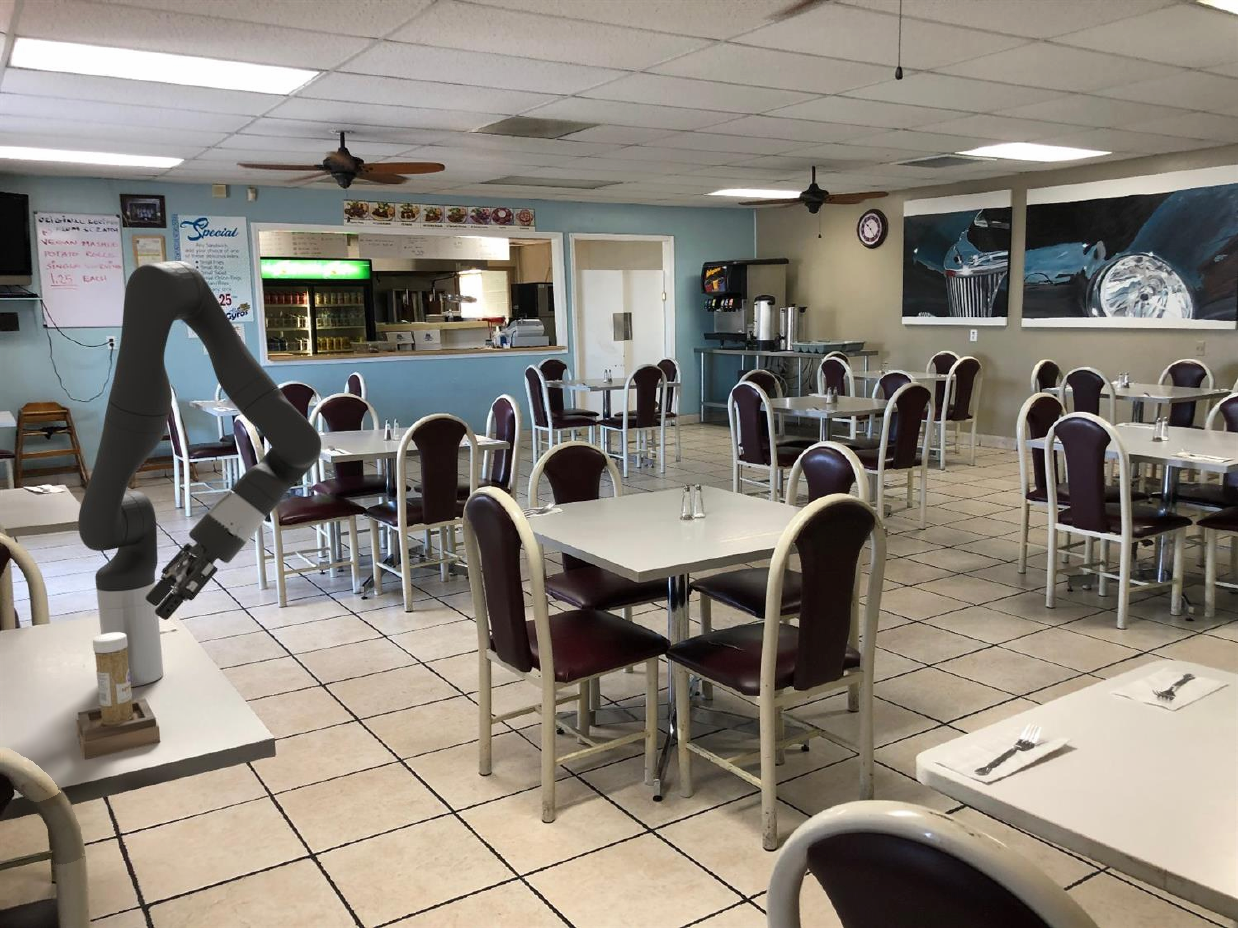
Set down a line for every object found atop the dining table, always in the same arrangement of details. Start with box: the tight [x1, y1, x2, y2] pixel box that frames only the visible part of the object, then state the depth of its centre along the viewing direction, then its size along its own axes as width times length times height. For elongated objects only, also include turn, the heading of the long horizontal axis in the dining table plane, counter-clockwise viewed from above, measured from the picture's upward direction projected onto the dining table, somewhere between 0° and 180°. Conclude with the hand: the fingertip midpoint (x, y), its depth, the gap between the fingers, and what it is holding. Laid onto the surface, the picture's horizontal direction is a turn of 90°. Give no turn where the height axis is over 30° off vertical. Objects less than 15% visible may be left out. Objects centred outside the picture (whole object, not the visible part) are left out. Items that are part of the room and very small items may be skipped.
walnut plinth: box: [75, 698, 161, 760], centre depth 148 cm, size 10×10×4 cm
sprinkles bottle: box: [92, 632, 134, 726], centre depth 147 cm, size 5×5×14 cm
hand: (154, 609), depth 149 cm, fingers open, 8 cm apart
